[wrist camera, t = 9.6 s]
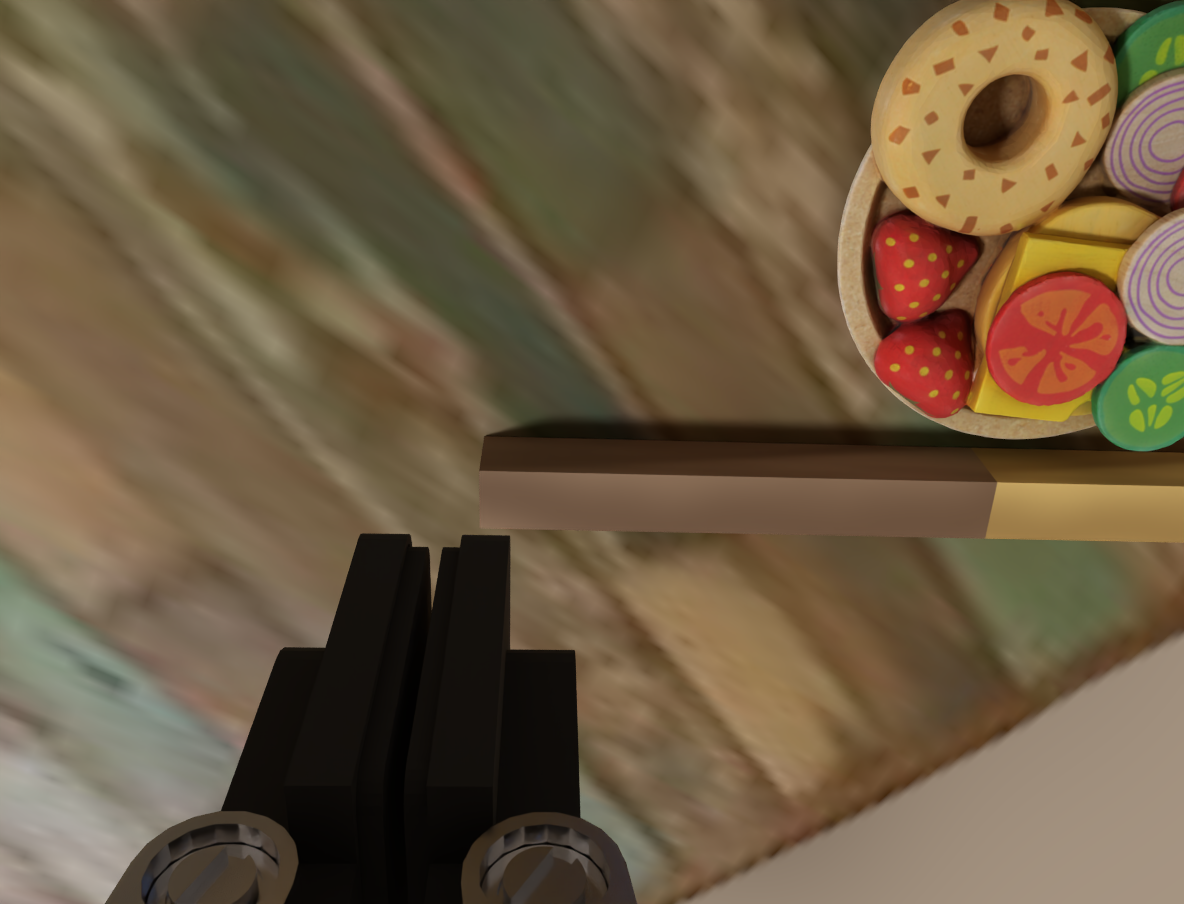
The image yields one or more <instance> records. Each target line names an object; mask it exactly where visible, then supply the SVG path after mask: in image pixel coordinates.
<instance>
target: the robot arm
mask: <svg viewBox="0 0 1184 904" xmlns="http://www.w3.org/2000/svg"><path fill="white" fill-rule="evenodd" d="M105 904H637V902H636V898H635V894H634V890H633V887H632V883H631V879H630V876H629V872H628V868H627V865H626V862H625V860H624V858H623V856H622V854H621V852H620V850H619V847H618V845H617V844H616V843H615V842H614V841H613V840H612V839H611V838H610V837H609V836H608V835H607V834H606V833H605V832H604V831H603V830H602V829H600V828H598V827H597V826H595V825H593V824H591V823H589V822H587V821H586V820H584V819H582V818H580V788H579V756H578V724H577V691H576V660H575V650H510V536H502V535H462V538H461V545H460V548H458V547H443V549H442V554H441V560H440V566H439V572H438V578H437V584H436V590H435V596H434V602H433V608H431V578H430V554H429V548H428V547H412V541H411V536H410V534H360V536H359V539H358V542H357V545H356V548H355V552H354V555H353V558H352V562H351V565H350V568H349V572H348V575H347V578H346V582H345V585H344V588H343V591H342V595H341V598H340V601H339V605H338V608H337V611H336V615H335V618H334V621H333V625H332V628H331V631H330V634H329V638H328V641H327V644H326V648H295V647H285V648H283V649H282V650H280V652H279V654H278V656H277V658H276V661H275V663H274V666H273V669H272V672H271V674H270V677H269V680H268V683H267V685H266V688H265V691H264V694H263V697H262V699H261V702H260V705H259V708H258V710H257V713H256V716H255V719H254V721H253V724H252V727H251V730H250V732H249V735H248V738H247V741H246V743H245V746H244V749H243V752H242V754H241V757H240V760H239V763H238V765H237V768H236V771H235V774H234V776H233V779H232V782H231V785H230V787H229V790H228V793H227V796H226V798H225V801H224V804H223V807H222V810H221V811H219V812H215V813H210V814H205V815H201V816H196V817H193V818H190V819H188V820H186V821H184V822H181V823H179V824H177V825H175V826H172V827H170V828H168V829H167V830H165V831H164V832H163V833H161V834H160V835H158V836H157V837H156V838H154V839H153V840H152V841H150V842H149V843H147V844H146V846H145V847H144V848H143V849H142V850H141V851H140V853H139V854H138V855H137V856H136V857H135V859H134V860H133V861H132V862H131V863H130V865H129V867H128V868H127V870H126V871H125V873H124V874H123V876H122V878H121V879H120V881H119V882H118V884H117V885H116V887H115V889H114V890H113V892H112V893H111V895H110V896H109V898H108V900H107V901H106V903H105Z"/></svg>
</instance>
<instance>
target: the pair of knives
mask: <svg viewBox="0 0 1184 904" xmlns="http://www.w3.org/2000/svg"><path fill="white" fill-rule="evenodd" d="M479 494H480V528H494V529H544V530H593V531H643V532H692V533H742V534H791V535H840V536H890V537H939V538H989V539H1038V540H1088V541H1137V542H1184V453H1175V452H1133V451H1090V450H1047V449H1005V448H962V447H919V446H877V445H834V444H792V443H749V442H706V441H664V440H621V439H578V438H536V437H493V436H484V443H483V449H482V456H481V463H480V470H479Z"/></svg>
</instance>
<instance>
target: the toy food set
mask: <svg viewBox="0 0 1184 904" xmlns="http://www.w3.org/2000/svg"><path fill="white" fill-rule="evenodd" d="M871 140H872V144H871V145H870V147H869V149H868V151H867V153H866V154H865V156H864V158H863V160H862V162H861V164H860V166H859V169H858V171H857V173H856V175H855V178H854V180H853V182H852V185H851V188H850V191H849V194H848V197H847V200H846V204H845V208H844V211H843V216H842V221H841V226H840V232H839V238H838V260H837V273H838V287H839V293H840V299H841V304H842V308H843V312H844V315H845V319H846V322H847V326H848V328H849V331H850V333H851V336H852V338H853V340H854V342H855V344H856V346H857V348H858V350H859V352H860V354H861V355H862V357H863V358H864V360H865V361H866V363H867V364H868V366H869V367H870V369H871V370H872V371H873V373H874V374H875V375H876V376H877V377H878V378H879V380H880V381H881V382H882V383H883V384H884V385H885V386H886V387H887V388H888V389H889V390H890V391H891V392H892V393H893V394H894V395H895V396H896V397H897V398H898V399H899V400H901V401H902V402H903V403H905V404H906V405H907V406H909V407H910V408H912V409H913V410H915V411H916V412H918V413H919V414H921V415H923V416H925V417H926V418H928V419H930V420H932V421H935V422H937V423H939V424H941V425H944V426H946V427H948V428H951V429H953V430H957V431H960V432H964V433H968V434H973V435H979V436H984V437H990V438H1000V439H1034V438H1043V437H1051V436H1056V435H1061V434H1066V433H1071V432H1075V431H1079V430H1083V429H1086V428H1090V427H1093V426H1096V425H1097V427H1098V428H1099V430H1100V432H1101V433H1102V434H1103V435H1104V436H1105V437H1106V438H1107V439H1108V440H1109V441H1110V442H1112V443H1114V444H1115V445H1117V446H1119V447H1121V448H1123V449H1127V450H1133V451H1152V450H1157V449H1160V448H1163V447H1166V446H1170V445H1172V444H1173V443H1175V442H1176V441H1178V440H1180V439H1181V438H1183V437H1184V0H1181V1H1174V2H1171V3H1168V4H1165V5H1162V6H1160V7H1158V8H1156V9H1154V10H1152V11H1151V12H1149V13H1144V12H1140V11H1136V10H1129V9H1121V8H1105V7H1097V8H1080V7H1079V6H1077V5H1075V4H1074V3H1072V2H1070V1H1069V0H959V1H957V2H955V3H953V4H951V5H949V6H947V7H945V8H944V9H942V10H940V11H939V12H937V13H936V14H935V15H933V16H932V17H931V18H930V19H928V20H927V21H926V22H925V23H924V24H923V25H922V26H921V27H919V28H918V29H917V30H916V31H915V32H914V34H913V35H912V36H911V37H910V38H909V39H908V40H907V41H906V43H905V44H904V45H903V47H902V48H901V50H900V51H899V52H898V54H897V55H896V57H895V58H894V60H893V61H892V63H891V65H890V67H889V68H888V70H887V72H886V74H885V76H884V78H883V80H882V82H881V85H880V87H879V90H878V93H877V96H876V99H875V103H874V107H873V112H872V117H871Z"/></svg>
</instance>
